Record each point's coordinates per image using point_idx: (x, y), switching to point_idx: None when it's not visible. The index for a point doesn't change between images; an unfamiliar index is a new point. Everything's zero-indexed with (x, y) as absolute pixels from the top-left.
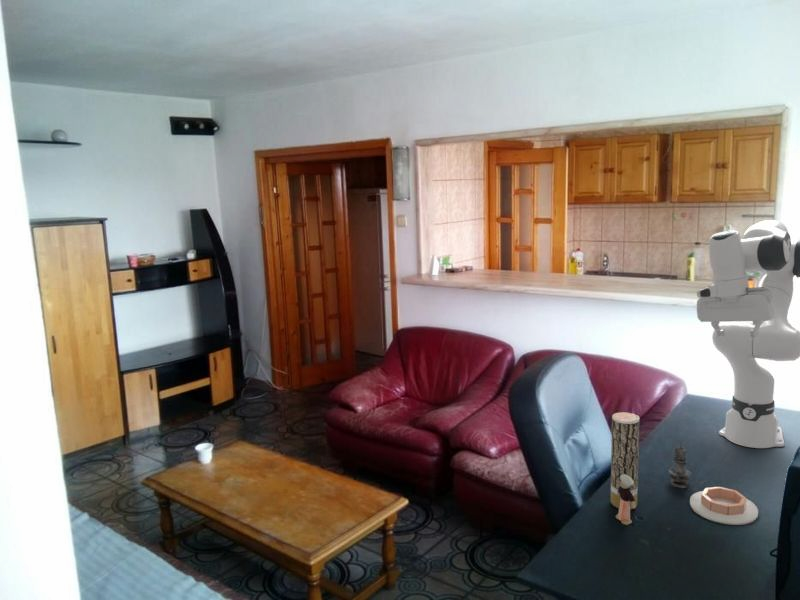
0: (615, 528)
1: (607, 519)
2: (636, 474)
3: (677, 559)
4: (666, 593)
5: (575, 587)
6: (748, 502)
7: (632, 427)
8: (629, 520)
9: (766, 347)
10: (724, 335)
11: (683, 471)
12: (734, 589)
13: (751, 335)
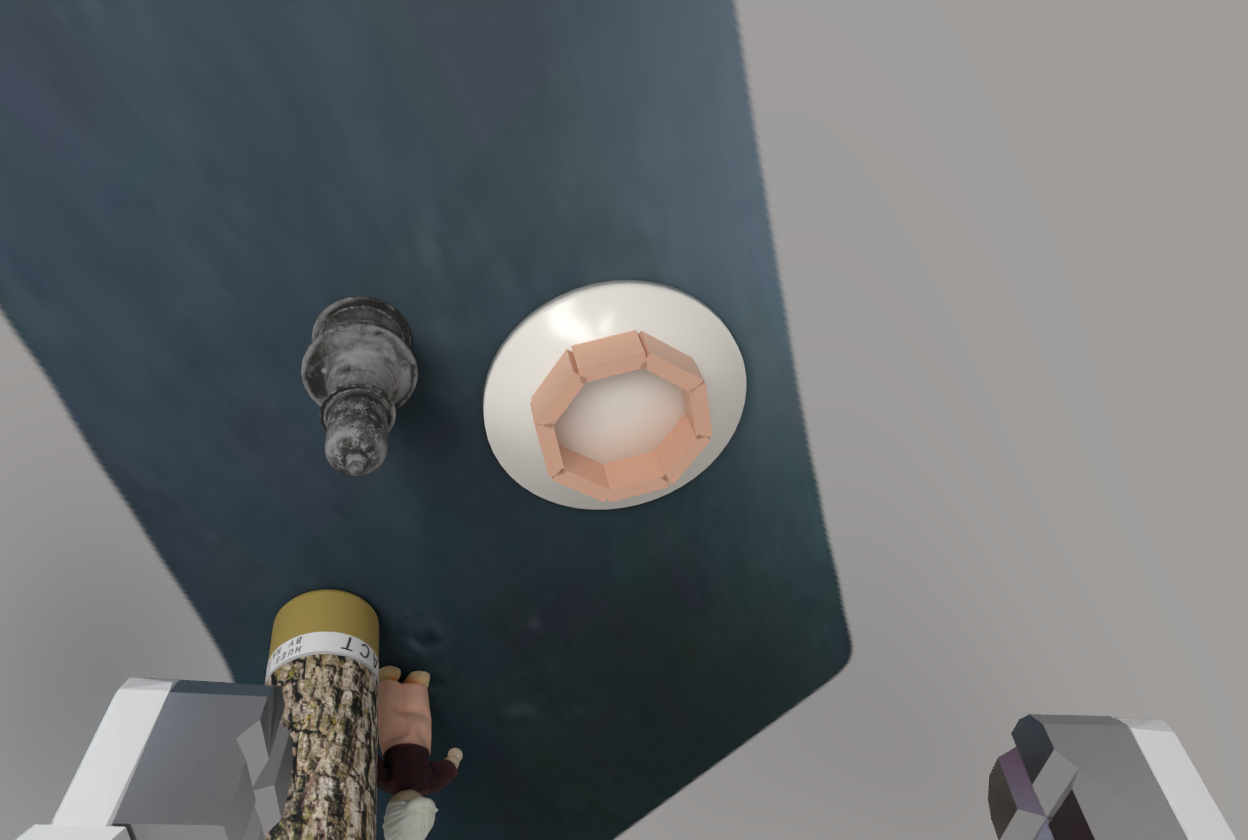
0: None
1: None
2: (376, 734)
3: (633, 706)
4: (672, 796)
5: None
6: (689, 318)
7: None
8: (424, 686)
9: None
10: (277, 690)
11: (390, 395)
12: (789, 698)
13: (1016, 826)
